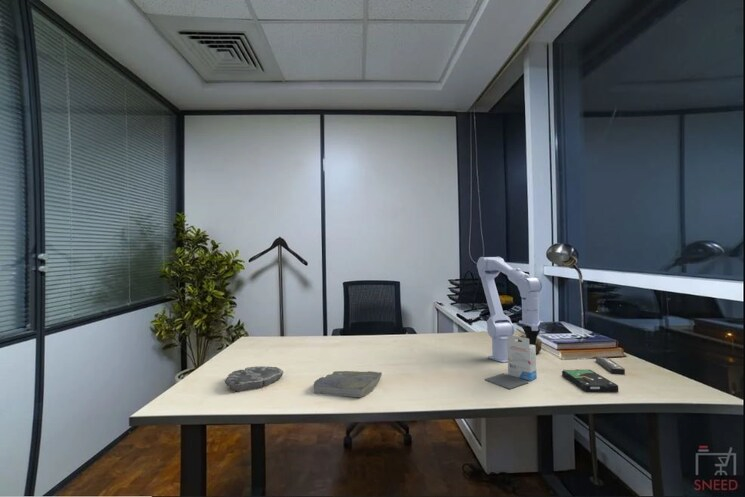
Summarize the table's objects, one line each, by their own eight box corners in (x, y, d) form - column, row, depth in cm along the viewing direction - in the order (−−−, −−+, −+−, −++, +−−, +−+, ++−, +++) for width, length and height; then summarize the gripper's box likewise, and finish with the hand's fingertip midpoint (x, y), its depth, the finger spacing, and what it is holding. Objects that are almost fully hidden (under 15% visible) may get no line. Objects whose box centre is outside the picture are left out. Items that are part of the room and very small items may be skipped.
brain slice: (267, 370, 129) (266, 362, 129) (289, 381, 117) (289, 373, 117) (214, 384, 115) (214, 375, 115) (233, 398, 103) (233, 389, 103)
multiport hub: (611, 374, 119) (611, 368, 119) (595, 362, 133) (595, 356, 133) (625, 375, 118) (625, 369, 118) (607, 363, 132) (607, 357, 132)
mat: (503, 374, 120) (503, 373, 120) (528, 383, 111) (528, 381, 111) (484, 380, 115) (484, 378, 115) (509, 389, 106) (509, 388, 106)
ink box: (537, 378, 116) (536, 336, 116) (530, 381, 113) (529, 338, 113) (514, 371, 122) (513, 332, 123) (507, 374, 119) (506, 334, 120)
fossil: (330, 378, 122) (309, 393, 105) (331, 365, 122) (309, 379, 106) (382, 385, 116) (367, 402, 100) (382, 372, 117) (368, 387, 100)
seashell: (546, 355, 143) (545, 336, 143) (524, 355, 143) (523, 337, 143) (534, 348, 154) (533, 331, 154) (514, 348, 154) (513, 331, 154)
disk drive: (619, 394, 103) (590, 376, 118) (619, 385, 103) (590, 368, 118) (586, 394, 103) (561, 376, 118) (585, 385, 103) (560, 368, 118)
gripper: (515, 306, 129) (516, 340, 129) (522, 312, 115) (523, 351, 115) (534, 306, 128) (535, 341, 127) (544, 313, 114) (545, 352, 113)
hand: (531, 346), depth 121 cm, fingers closed
